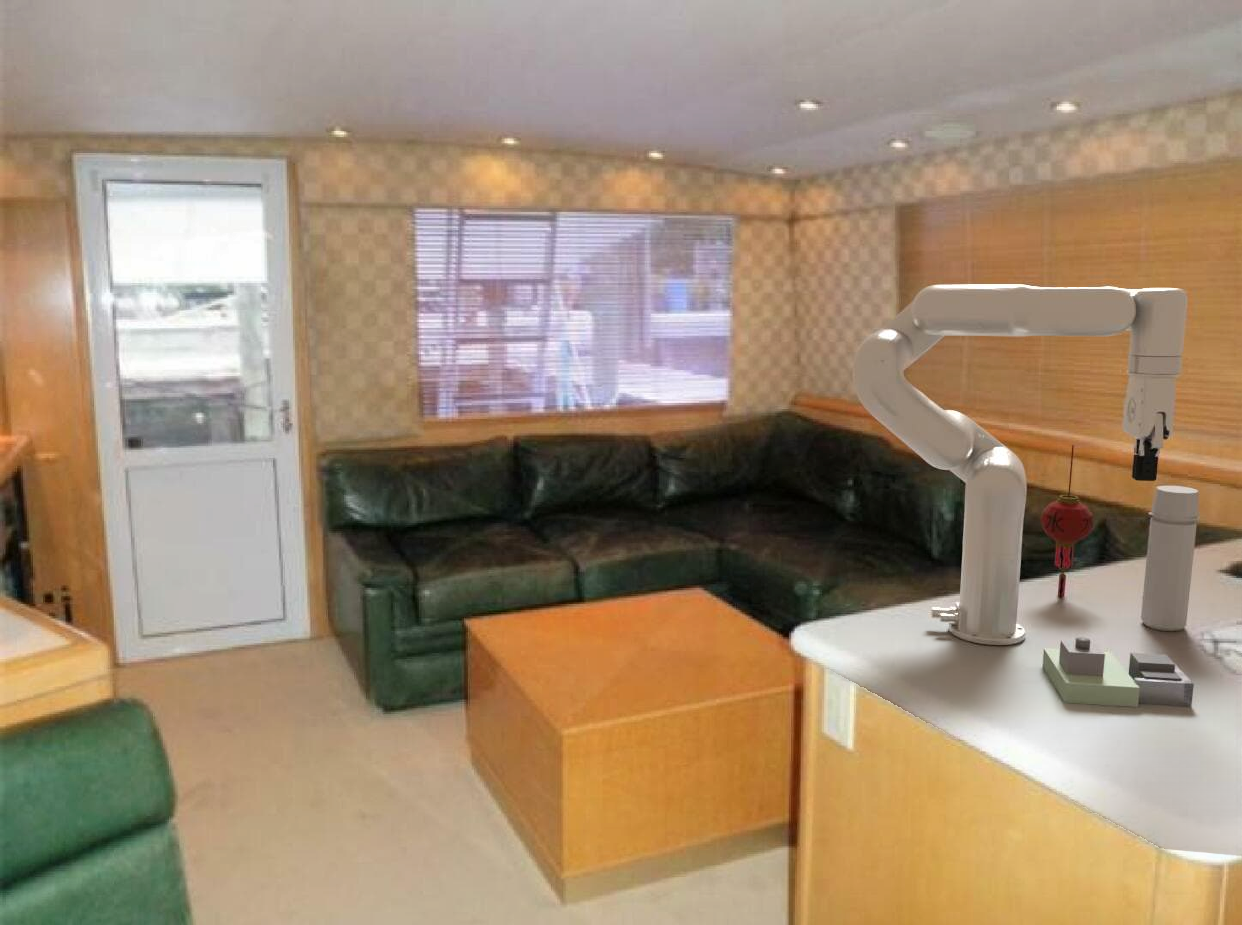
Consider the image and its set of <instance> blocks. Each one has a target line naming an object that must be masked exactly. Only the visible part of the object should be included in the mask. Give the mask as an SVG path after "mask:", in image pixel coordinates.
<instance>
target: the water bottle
mask: <svg viewBox="0 0 1242 925" xmlns="http://www.w3.org/2000/svg"><path fill="white" fill-rule="evenodd" d="M1199 494H1200V492H1199V490H1197V489H1195V488H1192V487H1189V486H1181V485H1159V486H1156V487H1155V491H1154V496H1153V501H1152V506H1151V511H1150V512H1148V515H1151V516H1152V517H1150V519H1149V528H1148V529H1149V530H1148V540H1147V550H1146V560H1145V569H1144V570H1145V572H1144V582H1143V592H1142V601H1141V602H1142V603H1141V612H1140V613H1141V614H1140V620H1141V621H1142V623H1143V624H1144V625H1145V626H1147V627H1149V628H1151V629H1152V630H1153V629H1154V630H1156V631H1160V632H1162V631H1163V632H1178V631H1181V630H1183V629H1184V628H1185V627H1187V623H1188V622H1187V621H1188V620H1187V619H1188V612H1189V611H1188V610H1189V601H1190V592H1191V582H1192V574H1193V573H1192V572H1193V564H1194V554H1195V545H1196V543H1195V542H1196V533H1197V525H1198V524H1197V522H1196V521H1198V520H1200V517H1199V515H1200V502H1199V501H1200V499H1199V498H1200V497H1199V496H1200V495H1199Z"/></svg>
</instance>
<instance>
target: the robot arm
mask: <svg viewBox="0 0 1242 925" xmlns="http://www.w3.org/2000/svg"><path fill="white" fill-rule="evenodd" d="M1188 299H1189V298H1188V294H1187V292H1186V290H1184V289H1182V288H1176V287H1175V288H1174V287H1149V288H1148V287H1146V288H1140V289H1130V288H1129V289H1127V288H1121V287H1120V288H1119V287H1117V286H1116V287H1115V286H1101V287H1044V286H1042V287H1041V286H1032V285H1028V284H1016V283H1015V284H1014V283H1013V284H1012V283H1011V284H1010V283H1009V284H1007V283H1005V284H1003V283H1002V284H1001V283H1000V284H997V283H995V284H994V283H993V284H933V285H929V286H926V287H924V288H923V289H921V290H920V291H919V292H918V293H917V294H916V296H915V297H914V299H913V300H912V301H911V302H910V303H909V304H908V305H907V306H906V307H905V308H904V309H903V310H901V311H900V312H899V313H898V314H897V315H895V316H894V317H893V318H892V319H890V320H889V321H888V322H887V323H886V324H885V325H884V326H882V327H881V328H880V329H879V330H877V331H875V332H873V333H872V334H870V335H868V336H867V337H865V339H864V340H862V342H861V343H860V345H859V346H858V348H857V350H856V353H855V356H854V361H853V366H852V383H853V386H854V387H853V388H854V391H855V393H856V395H857V398H858V400H859V402H860V404H861V405H862V406H863V407H864V409H866V411H867V412H868V414H870V415H871V416H872V417H873V418H874V419H875V420H876V421H878V422H879V423H880V424H881V425H883V426H884V427H885V428H886V429H887V430H889V431H890V432H891V433H892V434H893V435H894V436H895V437H897V438H898V439H899V440H900V441H902V442H903V443H904V444H905V445H906V446H908V448H909V449H911V450H912V451H913V452H915V453H916V454H917V455H918V456H919V457H920V458H921V459H923V461H925V462H926V463H927V464H929V465H930V466H932V467H933V468H936V469H939V470H944V471H950V472H951V473H953V474H954V476H956V477H957V478H959V479H960V480H962V481H963V482H964V483H965V489H964V490H965V491H964V513H963V514H964V518H963V532H962V533H963V534H962V535H963V536H962V556H961V558H962V559H961V573H960V574H961V576H960V589H959V590H960V591H959V601H955V606H949V608H945V607H935V606H932V607H931V609H930V617H931V618H932V619H939V621H940V622H943V623H948V630H949V633H951V634H952V635H953V636H955V637H956V638H959V639H962V640H963V641H967V642H971V643H975V644H981V645H987V646H988V645H989V646H1009V645H1016V644H1018V643H1021V642H1023V641H1024V639H1025V638H1026V630H1025V628H1024V627H1023V626H1022V625H1021V624H1019V623H1017V620H1018V619H1017V618H1018V604H1019V591H1020V590H1019V589H1020V578H1021V577H1020V576H1021V566H1022V565H1021V563H1022V562H1021V561H1022V544H1023V532H1024V531H1023V530H1024V520H1025V519H1024V518H1025V509H1026V501H1027V491H1028V490H1027V487H1028V486H1027V476H1026V470H1025V468H1024V464H1023V462H1022V461H1021V459H1020V458H1019V457H1018V455H1016V454H1015V452H1013V451H1012V450H1011V449H1010V448H1008V447H1007V446H1006V445H1004V443H1002V442H1001V441H1000V440H998V439H996V438H995V437H994V436H993V435H992V434H990V432H988V431H987V430H986V429H984V428H983V427H981V426H980V425H979V424H978V423H976V422H975V421H974V420H973V419H971V418H970V417H968V416H967V415H966V414H963V413H961V412H959V411H957V410H952V409H943V408H942V407H940V406H939V405H938V404H937V403H935V402H934V401H933V400H932V399H930V398H929V397H928V396H927V395H926V394H924V393H923V392H922V391H920V390H919V389H918V388H916V387H915V386H913V385H912V384H911V383H910V382H909V381H908V380H907V379H906V377H905V375H904V371H905V370H907V369H908V368H909V366H911V365H912V364H913V363H914V362H915V361H917V360H918V359H919V358H920V357H922V355H924V354H925V353H926V352H928V350H930V349H931V348H932V347H933V346H934V345H936V344H937V343H938V342H939V341H940V340H942V338H944V337H945V336H946V337H947V336H948V337H949V336H951V337H952V336H953V337H954V336H955V337H956V336H957V337H959V336H960V337H962V336H963V337H965V336H966V337H967V336H970V337H971V336H972V337H973V336H974V337H975V336H976V337H977V336H978V337H979V336H980V337H981V336H982V337H983V336H985V337H1016V338H1017V337H1023V338H1024V337H1031V336H1032V337H1033V336H1034V337H1035V336H1036V337H1037V336H1040V337H1041V336H1046V337H1047V336H1048V337H1049V336H1051V337H1052V336H1053V337H1113V336H1117V335H1120V334H1122V333H1124V332H1127V331H1128V332H1129V331H1130V337H1129V347H1128V348H1129V350H1128V360H1127V371H1126V372H1127V373H1126V375H1127V376H1129V378H1128V382H1127V386H1126V393H1125V400H1124V405H1123V406H1124V407H1123V412H1122V413H1123V415H1122V421H1121V429H1122V431H1123V432H1124V433H1125V434H1127V435H1128V436H1131V437H1132V438H1133V439H1134V441H1133V460H1132V461H1133V462H1132V470H1131V471H1132V473H1131V478H1132V479H1133V480H1135V481H1136V482H1138V481H1141V482H1145V481H1146V482H1155V481H1157V474H1158V465H1159V457H1160V450H1161V449H1163V448H1164V441H1167V440H1169V439H1170V438H1171V437H1172V434H1173V429H1174V424H1175V423H1174V422H1175V408H1176V406H1175V405H1176V378H1180V377H1181V374H1182V363H1183V355H1184V354H1183V352H1184V345H1185V343H1184V342H1185V334H1186V332H1185V331H1186V323H1187V312H1188V311H1187V310H1188Z"/></svg>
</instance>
